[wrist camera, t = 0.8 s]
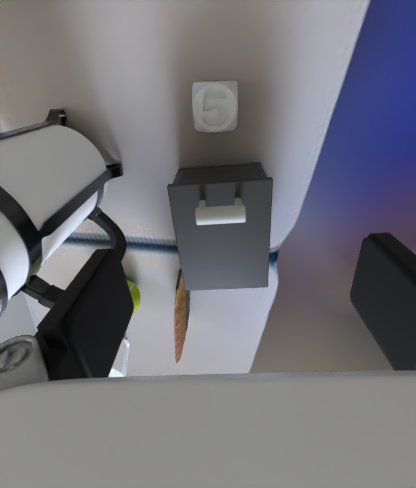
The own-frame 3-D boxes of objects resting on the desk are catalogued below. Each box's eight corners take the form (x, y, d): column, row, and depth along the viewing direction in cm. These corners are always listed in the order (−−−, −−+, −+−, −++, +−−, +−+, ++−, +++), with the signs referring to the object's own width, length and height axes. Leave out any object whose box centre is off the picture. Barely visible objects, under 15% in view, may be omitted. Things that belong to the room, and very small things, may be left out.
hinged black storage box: (178, 168, 38) (169, 190, 30) (260, 162, 37) (271, 183, 30) (190, 252, 46) (185, 286, 38) (258, 249, 45) (266, 283, 37)
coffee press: (33, 213, 42) (-240, 414, 17) (5, 100, 34) (-622, 170, 9) (142, 226, 43) (34, 438, 18) (140, 119, 35) (-71, 234, 9)
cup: (103, 349, 61) (88, 383, 54) (106, 320, 55) (90, 354, 49) (133, 355, 61) (123, 389, 55) (139, 327, 56) (128, 361, 49)
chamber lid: (168, 184, 30) (159, 202, 26) (271, 176, 29) (281, 194, 25) (185, 287, 38) (181, 314, 34) (266, 283, 37) (273, 311, 33)
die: (235, 80, 32) (238, 80, 28) (234, 125, 35) (237, 131, 30) (194, 81, 32) (191, 82, 28) (196, 126, 35) (193, 133, 31)
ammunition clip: (179, 268, 48) (169, 320, 37) (189, 269, 48) (182, 321, 37) (180, 310, 53) (171, 365, 43) (189, 311, 53) (182, 366, 43)
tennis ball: (147, 299, 52) (137, 327, 46) (112, 299, 52) (98, 327, 46) (140, 270, 48) (130, 297, 42) (103, 271, 48) (87, 298, 42)
